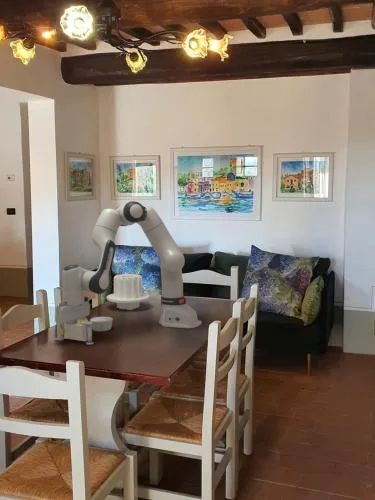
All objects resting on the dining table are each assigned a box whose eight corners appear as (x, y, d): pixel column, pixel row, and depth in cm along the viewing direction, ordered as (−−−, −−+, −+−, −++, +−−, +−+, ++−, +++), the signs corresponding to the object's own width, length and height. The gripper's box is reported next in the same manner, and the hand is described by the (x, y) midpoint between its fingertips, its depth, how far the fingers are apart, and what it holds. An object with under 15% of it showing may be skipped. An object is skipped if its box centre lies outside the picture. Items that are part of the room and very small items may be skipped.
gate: (94, 341, 249) (94, 322, 248) (90, 342, 246) (90, 323, 245) (67, 336, 255) (66, 318, 254) (62, 338, 253) (62, 320, 252)
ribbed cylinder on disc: (122, 301, 337) (121, 271, 335) (157, 305, 327) (157, 274, 324) (98, 309, 315) (97, 277, 313) (135, 314, 304) (135, 280, 302)
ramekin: (85, 329, 273) (85, 318, 273) (104, 325, 281) (104, 315, 280) (98, 333, 265) (97, 323, 265) (117, 329, 272) (116, 319, 272)
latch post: (68, 338, 256) (68, 322, 255) (62, 341, 252) (62, 324, 251) (59, 337, 258) (59, 320, 257) (53, 339, 254) (53, 322, 253)
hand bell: (86, 325, 280) (85, 295, 278) (70, 325, 281) (70, 294, 279) (92, 321, 288) (91, 292, 286) (77, 321, 289) (76, 291, 287)
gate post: (95, 343, 249) (94, 324, 248) (90, 345, 246) (90, 326, 245) (89, 342, 250) (88, 324, 249) (84, 344, 247) (84, 325, 246)
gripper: (61, 305, 243) (62, 335, 245) (91, 296, 261) (92, 325, 262) (51, 303, 246) (52, 333, 248) (81, 295, 264) (82, 323, 265)
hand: (73, 329), depth 255 cm, fingers closed
